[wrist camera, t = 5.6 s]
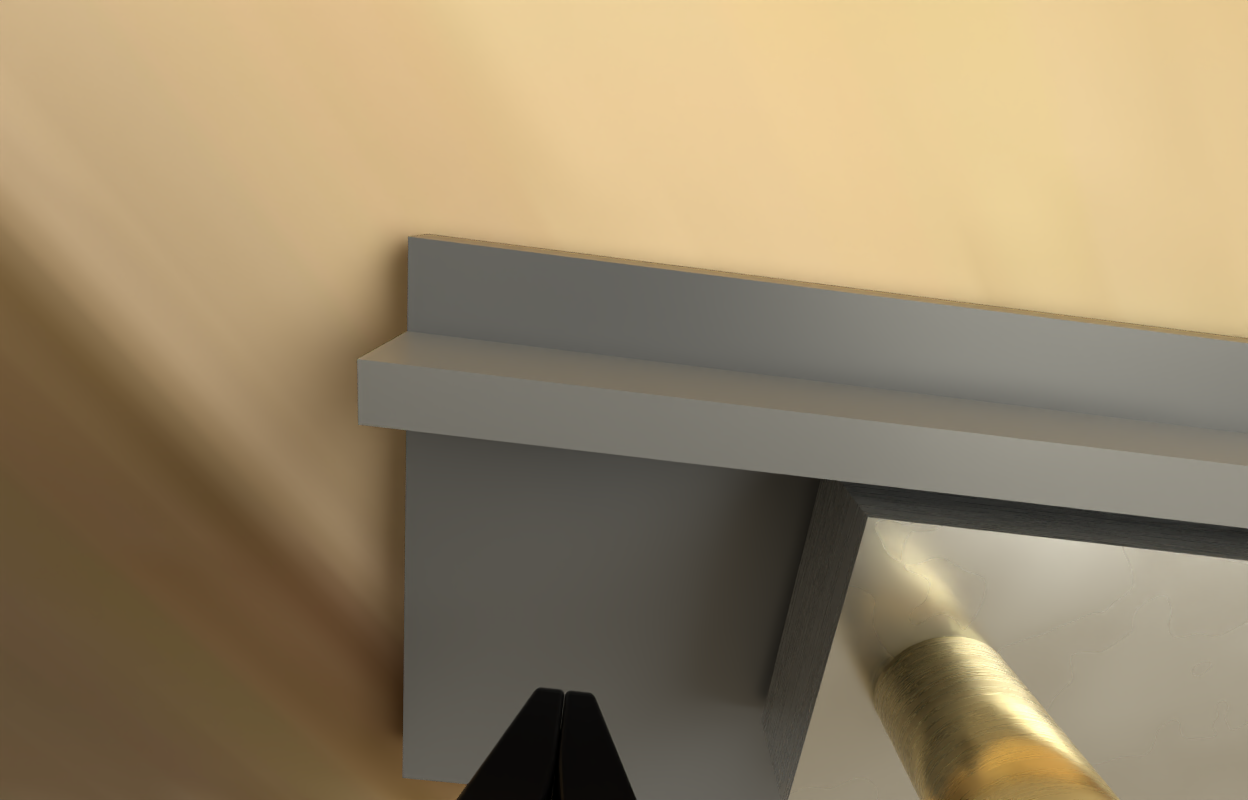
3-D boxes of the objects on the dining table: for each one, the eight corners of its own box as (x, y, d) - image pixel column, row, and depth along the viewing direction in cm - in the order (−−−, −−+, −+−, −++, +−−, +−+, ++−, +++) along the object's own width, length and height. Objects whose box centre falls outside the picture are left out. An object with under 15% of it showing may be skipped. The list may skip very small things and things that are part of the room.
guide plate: (1537, 852, 15) (1745, 999, 12) (417, 740, 14) (365, 871, 12) (1900, 421, 12) (2312, 490, 9) (428, 233, 11) (355, 243, 8)
